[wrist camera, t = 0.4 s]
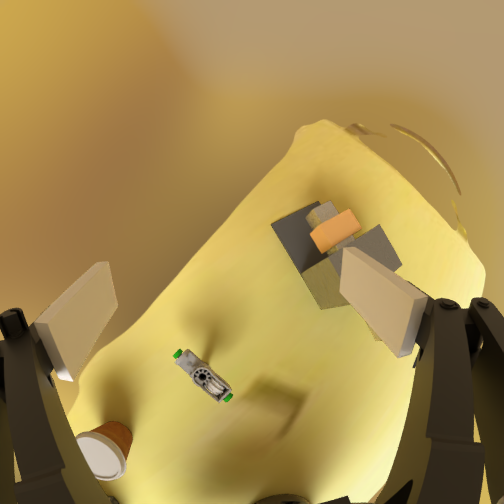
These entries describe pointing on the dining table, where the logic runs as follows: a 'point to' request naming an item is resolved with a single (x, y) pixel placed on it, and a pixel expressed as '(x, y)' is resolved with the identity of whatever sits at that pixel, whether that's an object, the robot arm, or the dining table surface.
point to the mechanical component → (203, 375)
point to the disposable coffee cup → (106, 449)
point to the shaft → (319, 217)
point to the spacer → (335, 230)
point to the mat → (299, 239)
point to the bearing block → (329, 270)
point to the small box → (113, 500)
